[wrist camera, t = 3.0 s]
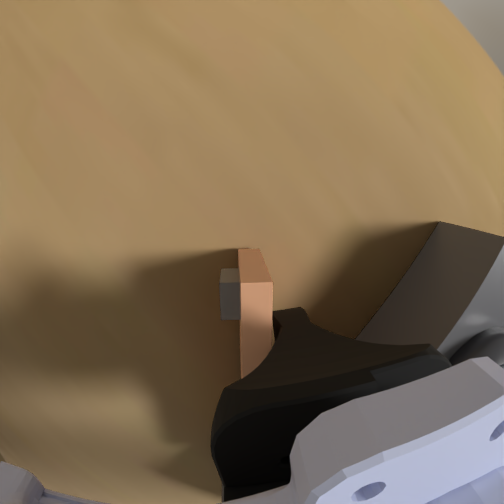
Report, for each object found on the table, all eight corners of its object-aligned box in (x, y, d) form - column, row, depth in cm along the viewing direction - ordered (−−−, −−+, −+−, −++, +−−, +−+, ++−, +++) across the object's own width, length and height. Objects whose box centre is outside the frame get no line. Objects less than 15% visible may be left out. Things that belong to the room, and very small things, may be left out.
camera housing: (499, 298, 14) (568, 336, 8) (312, 495, 16) (329, 560, 10) (439, 221, 12) (536, 246, 6) (222, 469, 15) (221, 551, 9)
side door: (259, 248, 12) (272, 282, 8) (258, 437, 14) (265, 499, 10) (222, 249, 12) (216, 283, 8) (231, 438, 14) (232, 500, 10)
